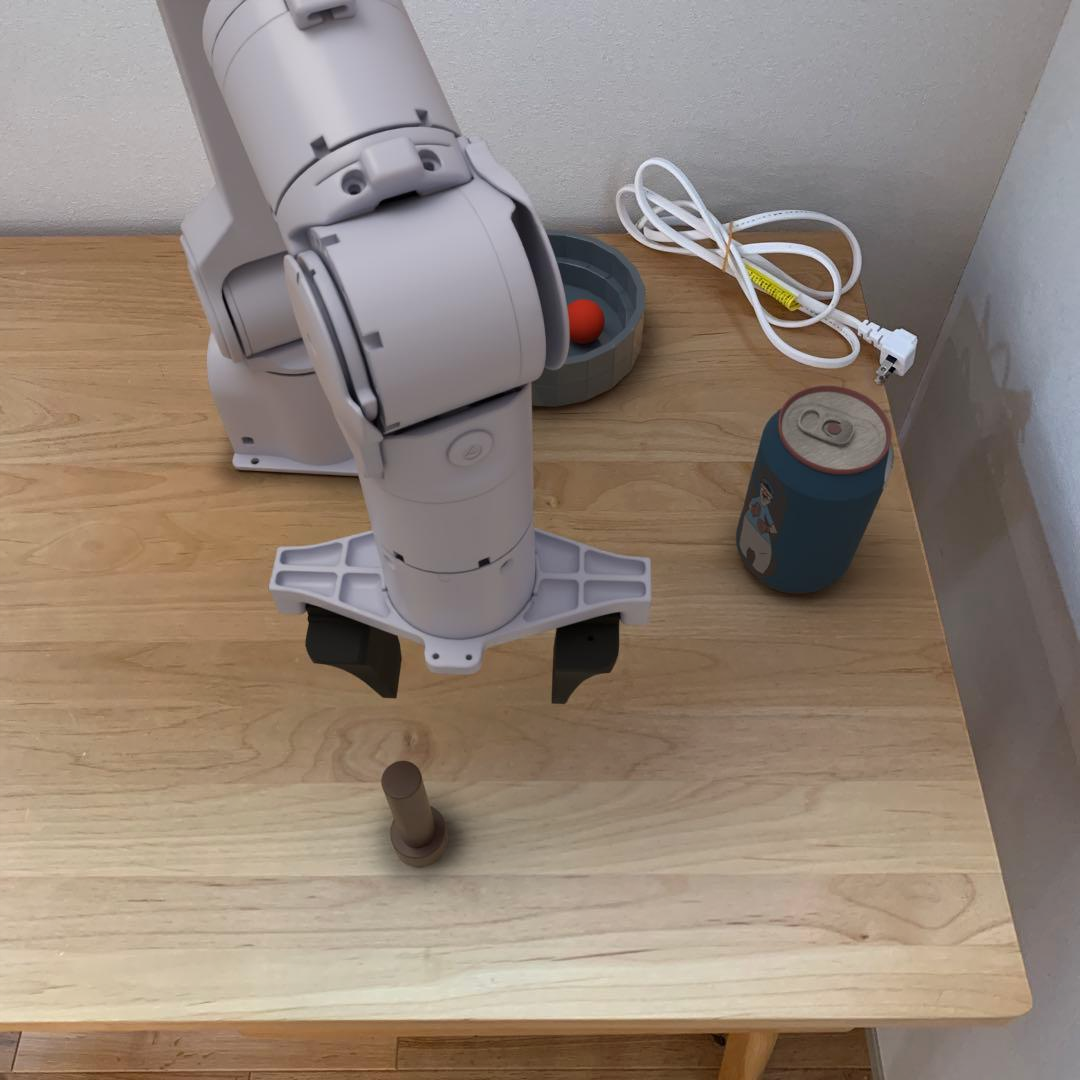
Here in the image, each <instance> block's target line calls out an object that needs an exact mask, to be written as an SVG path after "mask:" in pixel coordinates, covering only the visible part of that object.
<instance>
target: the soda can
mask: <svg viewBox="0 0 1080 1080" xmlns="http://www.w3.org/2000/svg"><path fill="white" fill-rule="evenodd" d="M892 435H893V434H892V428H891V423H890V421H889V419H888V417H887V415H886V413H885V412H884V410H883V409H882V408H881V407H880V406H879V404H877V403H876V402H875V401H874V400H873V399H871V398H870V397H869V396H867V395H865V394H864V393H861V392H859V391H856V390H853V389H851V388H848V387H844V386H837V385H816V386H811V387H807V388H804V389H802V390H800V391H798V392H796V393H794V394H793V395H792V396H790V397H789V398H788V399H787V400H786V401H785V403H783V405H782V407H781V408H780V409H779V410H777V411H776V412H775V413H774V414H773V415H772V416H771V417H770V418H769V419H768V421H767V422H766V424H765V426H764V428H763V430H762V433H761V438H760V440H759V445H758V448H757V452H756V457H755V460H754V463H753V467H752V470H751V474H750V479H749V482H748V485H747V489H746V494H745V497H744V500H743V504H742V508H741V511H740V514H739V515H740V516H739V519H738V523H737V527H736V530H735V531H736V532H735V542H736V549H737V551H738V555H739V557H740V559H741V561H742V563H743V564H744V566H745V567H746V569H748V570H749V572H750V573H751V574H752V575H753V576H754V577H755V578H757V580H759V581H760V582H761V583H762V584H764V585H766V586H767V587H769V588H770V589H773V590H776V591H777V592H778V591H779V592H782V593H787V594H807V593H813V592H814V593H815V592H817V591H821V590H824V589H826V588H829V587H830V586H832V585H834V584H835V583H836V582H838V581H839V580H840V579H842V577H843V576H844V575H845V574H846V573H847V571H848V570H849V568H850V566H851V564H852V562H853V559H854V557H855V556H856V553H857V550H858V548H859V546H860V544H861V541H862V539H863V538H864V534H865V533H866V531H867V528H868V525H869V524H870V521H871V519H872V517H873V515H874V513H875V510H876V508H877V505H878V503H879V501H880V499H881V496H882V494H883V492H884V490H885V487H886V485H887V483H888V480H889V478H890V476H891V474H892V472H893V468H894V463H895V451H894V450H895V449H894V445H893V443H892V442H893V441H892Z"/></svg>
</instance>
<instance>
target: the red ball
mask: <svg viewBox="0 0 1080 1080" xmlns="http://www.w3.org/2000/svg"><path fill="white" fill-rule="evenodd" d="M567 309H568V317H569V331H570V340H572V341H574V342H576V343H580V344H586V343H590V342H592V341H594V340H596V339H597V338H598V337H599V336H600V335H601V333H602V331H603V329H604V325H605V318H604V314H603V311H602V310H601V308H600V307H599V306H598V305H597V304H596V303H594V302H593V301H590V300H585V299H581V300H576V301H574V302H572V303H571V304H569V305H568V306H567Z"/></svg>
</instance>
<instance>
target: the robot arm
mask: <svg viewBox="0 0 1080 1080" xmlns="http://www.w3.org/2000/svg"><path fill="white" fill-rule="evenodd" d="M155 2H156V3H155V4H156V6H157V9H158V12H159V15H160V19H161V21H162V24H163V27H164V30H165V34H166V36H167V39H168V42H169V45H170V48H171V52H172V55H173V57H174V58H173V59H174V60H175V63H176V67H177V70H178V72H179V76H180V79H181V82H182V84H183V88H184V91H185V94H186V97H187V101H188V103H189V106H190V110H191V112H192V115H193V119H194V121H195V125H196V128H197V130H198V134H199V137H200V140H201V142H202V146H203V149H204V152H205V155H206V158H207V161H208V164H209V168H210V170H211V173H212V176H213V179H214V182H215V184H214V186H212V188H211V189H210V190H209V191H208V192H207V193H206V195H204V197H202V199H201V200H200V201H199V202H198V203H197V204H196V206H195V207H194V208H193V209H191V211H190V212H189V213H188V214H187V215H186V216H185V217H184V219H183V221H182V222H181V223H180V226H179V228H180V230H181V233H182V234H181V235H180V237H179V242H180V244H181V247H182V250H183V252H184V256H185V258H186V261H187V265H186V267H187V270H188V273H189V276H190V279H191V281H192V283H193V287H194V289H195V292H196V296H197V297H198V300H199V302H200V304H201V307H202V310H203V313H204V315H205V318H206V320H207V323H208V325H209V328H210V334H209V339H208V342H207V343H208V344H207V351H206V372H207V380H208V387H209V391H210V394H211V397H212V400H213V402H214V405H215V407H216V410H217V412H218V416H219V418H220V420H221V423H222V426H223V427H224V430H225V432H226V435H227V437H228V440H229V442H230V445H231V448H232V450H233V452H234V454H233V457H232V460H231V462H232V466H233V468H234V469H236V470H239V471H256V472H257V471H258V472H271V473H272V472H273V473H274V472H276V473H293V474H311V475H312V474H313V475H328V476H329V475H331V476H346V477H347V476H348V477H349V476H350V477H351V476H352V477H358V479H359V484H360V487H361V490H362V495H363V499H364V502H365V506H366V510H367V514H368V519H369V523H370V527H371V529H370V530H367V531H363V532H359V533H355V534H351V535H348V536H343V537H340V538H336V539H332V540H328V541H322V542H319V543H314V544H307V545H293V546H291V545H290V546H281V545H280V546H278V547H277V549H276V554H275V557H274V561H273V567H272V570H271V571H272V572H271V575H270V579H269V585H268V591H269V593H270V596H271V598H272V600H273V602H274V605H275V607H276V610H277V611H278V614H280V615H291V616H292V615H295V616H296V615H297V616H299V615H300V616H301V615H303V614H305V613H307V619H306V620H307V622H308V623H307V629H306V635H305V641H304V642H305V643H304V646H305V650H306V652H307V655H308V657H309V659H310V660H311V662H312V663H313V664H315V665H325V666H328V667H333V668H337V669H340V670H342V671H345V672H347V673H348V674H350V675H352V676H354V677H356V678H358V680H360V681H361V682H363V683H365V684H366V685H367V686H368V687H370V688H371V689H372V690H373V691H374V692H375V693H377V694H378V695H379V696H380V697H381V698H383V699H397V698H398V690H399V685H400V684H399V683H400V675H401V668H402V662H403V660H402V659H403V656H402V648H401V643H400V639H399V638H403V639H405V640H407V641H411V642H413V643H416V644H418V645H421V646H422V647H424V653H423V655H424V661H425V666H426V668H427V669H428V671H430V672H431V673H434V674H437V675H462V676H468V675H469V676H470V675H474V674H476V673H478V672H479V671H480V670H481V668H482V666H483V664H484V663H483V662H484V661H483V660H484V653H485V652H486V651H487V650H488V649H490V648H491V647H496V646H498V645H502V644H506V643H510V642H513V641H516V640H521V639H523V638H527V637H530V636H534V635H538V634H540V633H544V632H547V631H548V632H549V631H552V630H555V634H554V635H555V636H554V642H553V648H552V674H551V696H550V697H551V699H550V700H551V703H550V704H551V705H566V704H567V703H568V701H569V699H570V698H571V696H572V694H574V692H575V691H576V689H577V688H578V687H579V686H580V685H581V684H582V683H583V682H585V681H587V680H588V679H591V678H593V677H595V676H598V675H603V674H610V673H611V672H612V671H613V669H614V668H615V665H616V663H617V661H618V658H619V654H620V624H623V625H625V626H639V627H641V626H642V627H646V626H648V625H649V619H650V613H651V607H652V601H653V600H652V599H653V598H652V595H653V594H652V593H653V592H652V559H651V558H650V557H647V556H634V555H625V554H620V553H615V552H611V551H608V550H605V549H600V548H597V547H595V546H591V545H589V544H586V543H584V542H583V543H582V542H580V541H576V540H573V539H571V538H568V537H565V536H561V535H559V534H555V533H552V532H550V531H547V530H544V529H540V528H538V527H535V525H536V523H535V484H534V483H535V481H534V477H535V476H534V439H533V438H534V437H533V436H534V435H533V405H532V391H531V382H532V381H535V380H537V379H538V378H539V377H540V376H541V374H542V372H543V369H544V367H545V368H547V369H550V370H557V369H559V368H561V367H562V366H563V364H564V363H565V361H566V358H567V355H568V350H569V339H570V331H569V317H568V309H567V302H566V297H565V292H564V287H563V283H562V279H561V275H560V271H559V268H558V265H557V261H556V258H555V255H554V252H553V249H552V247H551V244H550V241H549V239H548V236H547V234H546V231H545V228H544V224H543V222H542V220H541V217H540V215H539V212H538V210H537V208H536V206H535V203H534V202H533V200H532V198H531V196H530V195H529V193H528V191H527V190H526V189H525V187H524V186H523V184H522V183H521V182H520V181H519V179H518V178H517V177H516V176H515V175H514V173H512V171H510V170H509V169H508V168H506V167H505V166H503V165H502V164H501V163H500V162H499V161H498V160H497V159H496V157H495V155H494V153H493V152H492V150H491V148H490V146H489V143H488V141H487V139H483V137H482V135H481V134H476V135H472V136H470V137H467V136H465V135H463V133H462V131H461V129H460V126H459V124H458V122H457V120H456V118H455V115H454V113H453V110H452V109H451V106H450V104H449V102H448V100H447V97H446V95H445V93H444V91H443V89H442V87H441V84H440V82H439V80H438V77H437V75H436V74H435V71H434V68H433V66H432V65H431V62H430V60H429V57H428V56H427V54H426V51H425V49H424V47H423V45H422V42H421V40H420V38H419V35H418V33H417V31H416V29H415V26H414V24H413V22H412V20H411V18H410V16H409V14H408V12H407V9H406V7H405V4H404V2H403V0H155ZM620 622H621V623H620Z"/></svg>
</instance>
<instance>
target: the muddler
mask: <svg viewBox="0 0 1080 1080" xmlns="http://www.w3.org/2000/svg"><path fill="white" fill-rule="evenodd" d="M423 779H424V778H423V776H422V772H421V770H420V768H419V767H418V766H417V765H416V764H415V763H413V762H412V761H409V760H397V761H393V763H391V764H388V766H387V767H386V768H385V770H384V771H383V773H382V775H381V779H380V780H381V781H380V782H381V788H382V790H383V794H384V796H385V799H386V802H387V804H388V807H389V810H390V812H391V815H392V818H393V820H392V823H391V825H390V830H389V831H390V832H389V833H390V834H389V835H390V836H389V837H390V841H391V844H392V847H393V849H394V851H395V854H396V855H397V857H398V858H399V859H400V860H401V861H402V862H403V863H404V864H406V865H408V866H411V867H415V868H416V867H417V868H422V867H427V866H430V865H432V864H434V863H436V862H437V861H439V859H441V857H442V856H443V855H444V854H445V851H446V849H447V847H448V843H449V833H448V829H447V824H446V821H445V819H444V817H443V815H442V813H441V812H440V811H439V810H438V809H436V808H435V807H433V806H431V805H430V801H429V798H428V794H427V791H426V787H425V783H424V780H423Z"/></svg>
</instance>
